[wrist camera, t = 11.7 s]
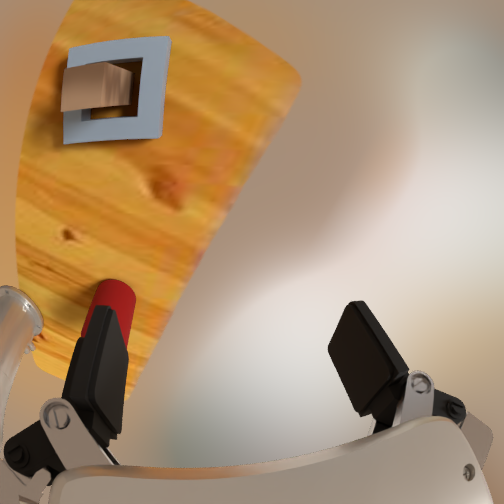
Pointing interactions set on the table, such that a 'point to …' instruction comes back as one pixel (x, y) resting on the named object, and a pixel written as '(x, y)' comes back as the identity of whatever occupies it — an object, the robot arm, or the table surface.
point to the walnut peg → (96, 86)
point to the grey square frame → (150, 94)
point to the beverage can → (114, 304)
